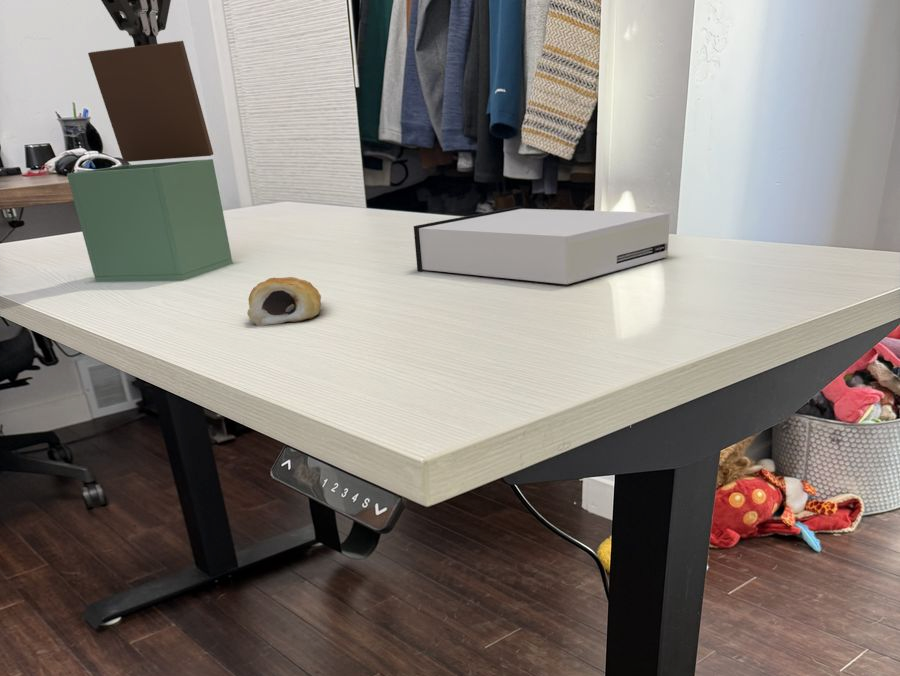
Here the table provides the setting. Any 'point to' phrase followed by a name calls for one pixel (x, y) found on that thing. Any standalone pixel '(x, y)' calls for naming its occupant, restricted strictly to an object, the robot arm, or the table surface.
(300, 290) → the pastry
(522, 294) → the table surface
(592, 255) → the disc drive
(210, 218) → the bin
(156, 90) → the bin lid
